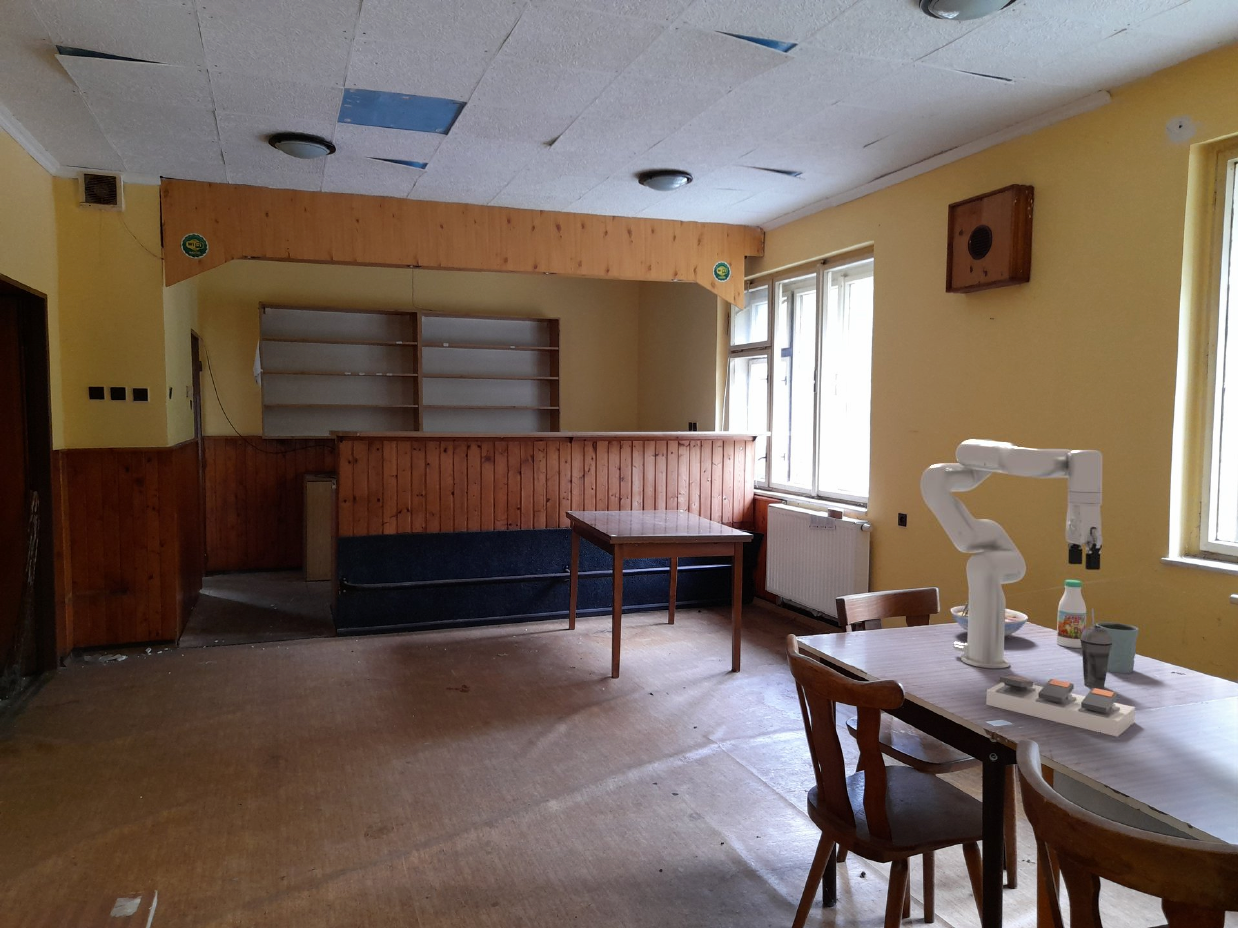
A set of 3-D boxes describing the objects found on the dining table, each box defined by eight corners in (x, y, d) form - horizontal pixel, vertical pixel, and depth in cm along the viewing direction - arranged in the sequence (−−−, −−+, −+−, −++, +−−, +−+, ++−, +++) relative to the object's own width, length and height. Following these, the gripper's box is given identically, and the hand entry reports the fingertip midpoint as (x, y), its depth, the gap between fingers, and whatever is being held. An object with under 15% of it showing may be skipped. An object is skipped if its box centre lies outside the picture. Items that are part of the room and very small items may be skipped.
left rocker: (998, 684, 200) (999, 675, 200) (1010, 685, 206) (1011, 676, 206) (1020, 689, 197) (1021, 680, 197) (1032, 689, 202) (1033, 680, 202)
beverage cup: (1114, 690, 214) (1118, 613, 213) (1083, 688, 216) (1086, 611, 215) (1104, 682, 221) (1107, 607, 220) (1074, 680, 223) (1077, 605, 222)
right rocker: (1081, 710, 188) (1081, 701, 187) (1092, 695, 193) (1092, 687, 193) (1106, 716, 184) (1106, 707, 184) (1117, 701, 190) (1117, 692, 189)
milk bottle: (1051, 641, 263) (1053, 578, 262) (1074, 641, 263) (1077, 578, 262) (1066, 648, 255) (1069, 583, 254) (1090, 648, 256) (1093, 583, 255)
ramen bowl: (1024, 649, 253) (1025, 622, 252) (943, 639, 264) (944, 613, 264) (1029, 632, 275) (1030, 607, 274) (955, 623, 286) (955, 599, 285)
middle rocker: (1038, 700, 194) (1038, 692, 194) (1050, 686, 200) (1050, 678, 199) (1062, 706, 191) (1061, 697, 190) (1073, 691, 196) (1073, 683, 196)
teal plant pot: (1097, 671, 232) (1099, 627, 231) (1091, 661, 241) (1093, 620, 241) (1139, 675, 228) (1141, 631, 227) (1132, 665, 237) (1134, 623, 237)
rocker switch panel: (986, 704, 202) (986, 688, 202) (1007, 692, 211) (1007, 677, 211) (1117, 736, 182) (1118, 718, 182) (1134, 722, 191) (1135, 705, 191)
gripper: (1054, 496, 221) (1054, 561, 222) (1084, 501, 204) (1083, 571, 204) (1084, 497, 220) (1084, 562, 221) (1117, 501, 203) (1116, 572, 204)
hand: (1083, 566), depth 213 cm, fingers open, 9 cm apart
